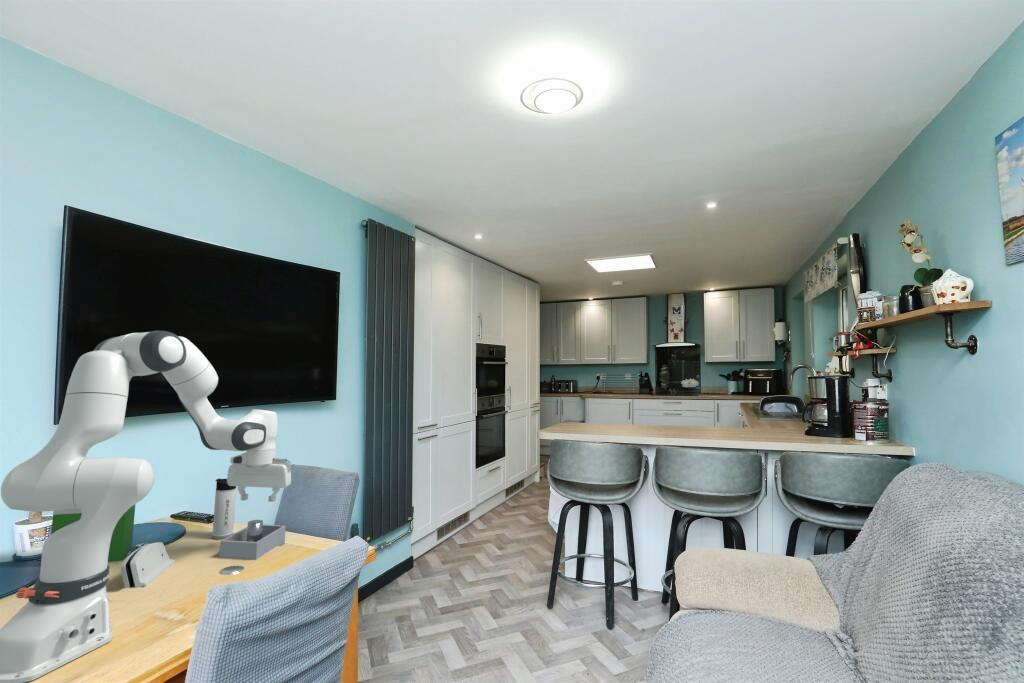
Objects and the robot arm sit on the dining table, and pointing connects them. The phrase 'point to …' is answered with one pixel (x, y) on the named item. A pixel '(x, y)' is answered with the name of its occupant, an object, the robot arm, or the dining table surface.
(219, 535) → the travel mug
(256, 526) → the grey knob
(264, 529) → the bin
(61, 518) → the hardback book
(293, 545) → the dining table surface
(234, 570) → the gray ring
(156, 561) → the white curved housing
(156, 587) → the dining table surface
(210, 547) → the dining table surface
